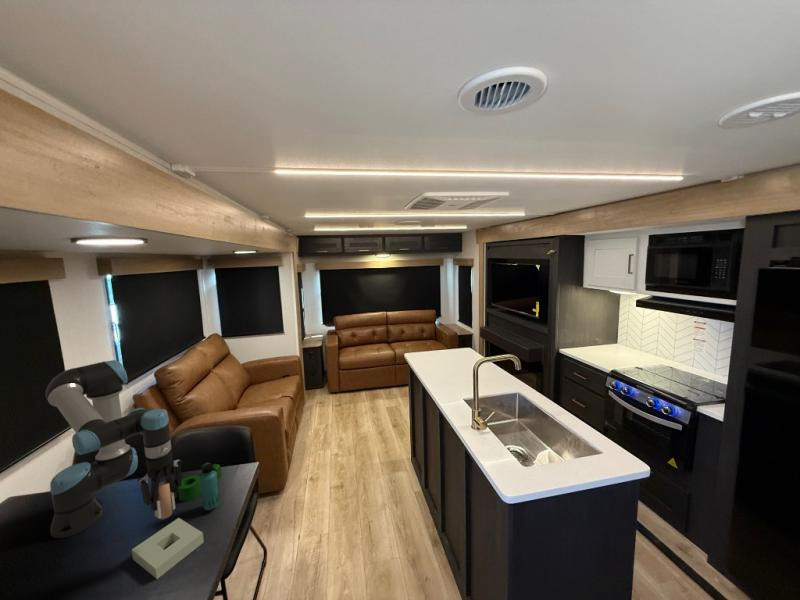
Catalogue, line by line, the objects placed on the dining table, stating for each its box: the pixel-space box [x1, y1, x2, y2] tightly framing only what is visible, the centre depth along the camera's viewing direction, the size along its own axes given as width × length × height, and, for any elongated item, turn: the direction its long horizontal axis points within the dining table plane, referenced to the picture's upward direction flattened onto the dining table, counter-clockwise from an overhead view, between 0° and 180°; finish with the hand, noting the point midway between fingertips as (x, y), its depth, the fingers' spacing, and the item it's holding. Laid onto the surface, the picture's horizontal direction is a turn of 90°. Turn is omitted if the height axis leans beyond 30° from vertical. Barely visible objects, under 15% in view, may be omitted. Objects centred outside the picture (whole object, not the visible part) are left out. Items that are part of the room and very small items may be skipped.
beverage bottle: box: [200, 463, 220, 511], centre depth 138 cm, size 6×7×20 cm
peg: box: [157, 480, 173, 520], centre depth 117 cm, size 4×4×12 cm
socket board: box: [131, 517, 204, 580], centre depth 119 cm, size 16×16×4 cm
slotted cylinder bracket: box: [177, 462, 222, 502], centre depth 152 cm, size 18×9×6 cm, turn 167°
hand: (165, 512), depth 117 cm, fingers closed on peg, 4 cm apart
